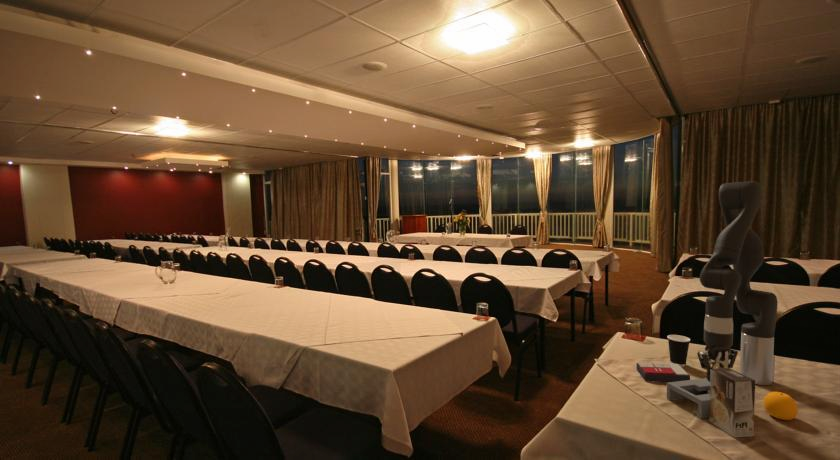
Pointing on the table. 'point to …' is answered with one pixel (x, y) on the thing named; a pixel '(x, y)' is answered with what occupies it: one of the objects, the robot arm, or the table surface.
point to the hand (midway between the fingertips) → (716, 381)
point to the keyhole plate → (692, 393)
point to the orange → (780, 406)
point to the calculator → (662, 372)
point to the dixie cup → (678, 349)
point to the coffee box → (732, 402)
